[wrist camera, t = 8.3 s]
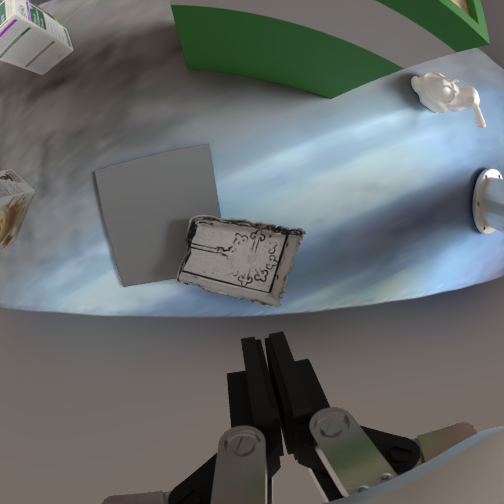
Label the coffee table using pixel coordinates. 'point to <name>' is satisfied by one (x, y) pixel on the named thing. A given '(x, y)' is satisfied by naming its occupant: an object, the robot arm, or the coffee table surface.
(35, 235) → the coffee table surface
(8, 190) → the coffee box
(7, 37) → the syrup box
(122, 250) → the mat
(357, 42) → the hardback book
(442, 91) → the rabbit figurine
